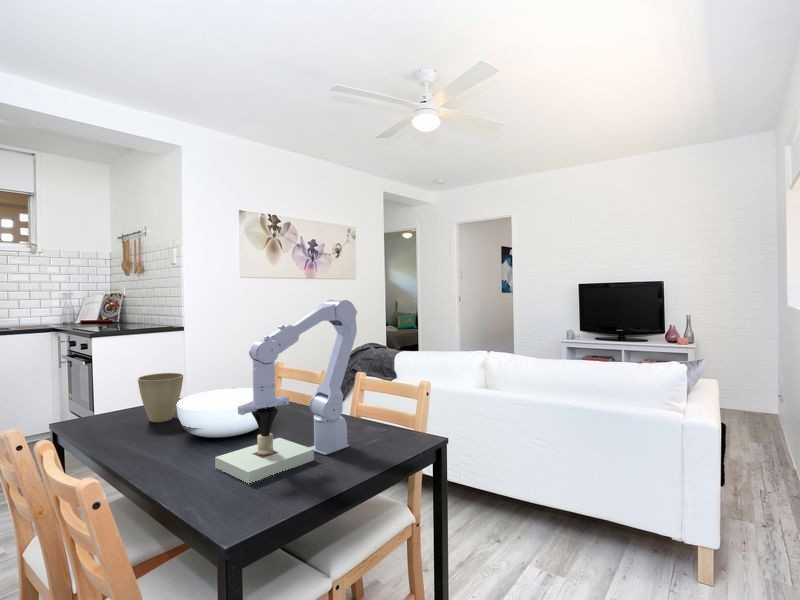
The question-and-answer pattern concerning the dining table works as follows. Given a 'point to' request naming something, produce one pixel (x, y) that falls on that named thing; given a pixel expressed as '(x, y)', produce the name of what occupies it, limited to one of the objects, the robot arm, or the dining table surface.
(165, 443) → the dining table surface
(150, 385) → the plant pot
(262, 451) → the peg
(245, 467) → the board
